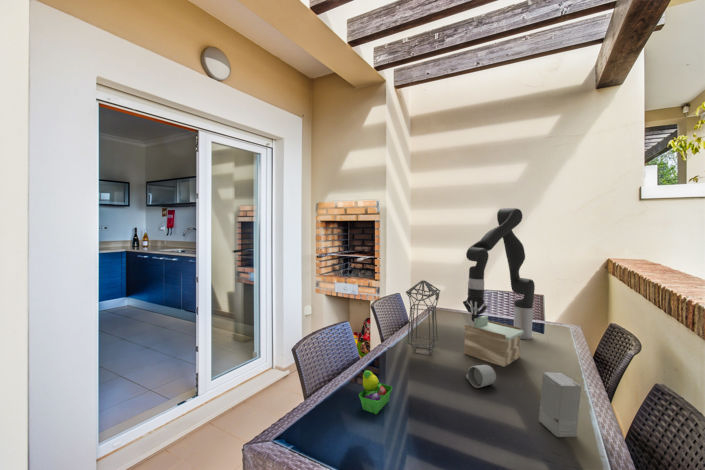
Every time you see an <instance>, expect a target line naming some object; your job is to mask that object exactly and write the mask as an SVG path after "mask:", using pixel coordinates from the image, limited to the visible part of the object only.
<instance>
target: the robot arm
mask: <svg viewBox="0 0 705 470" xmlns="http://www.w3.org/2000/svg"><path fill="white" fill-rule="evenodd" d="M496 214H497V215H496V219H497V224H498V226H496V227H493V228H492V229H490V230H489V231H488V232H486V233H485V234H484V235H483V237H481V239H480V240H478V241H477V242H475V243H473V244H471V246H470V247H469V248H467V250H466V253H465V254H466V255H465V256H466V258H467V260H468V261H470V262H476V264H475V265H472V266H470V267H469V269H468V270H469V271H468V281H467V298H466V299H465V300H463V301H462V304H463V306H464V307H465V309H466V310H467V312H468V313H470V314H471V322H473V323H474V319H475V318H478V317H479V315H483V313H484V312H485V311H487V309H488V308H489V305H487V304H486V303H485V300H484V297H485V270H486V267H487V263H488V261H489V252H490V251H491V250H492V249H493V248H494V247H495V246H497V244H498V242H500V240H501V239H503V244H504V250H505V255H506V259H507V264H508V268H509V279H510V280H509V281H510V287H511V290H512V292H513V293H514V294H517V295H522V296H523V298H521V299H515V300H514V302H513V326H515V327H519V328H521V330H522V331H524V333H523V334H521V335H520V340H531V339H533V311H534V310H533V306H534V301H535V300H534V298H535V287H536V286H535V282H534V280H533V279H531V278H526V277H525V278H523V277H520V269H521V267H522V266H523V264H524V262H525V259H526V253H525V247H524V244H523V243H522V242H521V240H520V239H519V238H518V237H517V236H516V235H515V233H514V232H513V230H514V229H515V228H516V227H517V226H518V225H520V223H521V222H522V220H523V213H522V210H521V209H520V208H515V207H514V208H512V207H511V208H509V207H508V208H500V209H499V210H498V211H497V213H496Z"/></svg>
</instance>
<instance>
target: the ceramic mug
mask: <svg viewBox="0 0 705 470" xmlns="http://www.w3.org/2000/svg"><path fill="white" fill-rule="evenodd" d="M496 374H497V373H496V371H495V370H494V368H493V367H492V366H490V365H488V364H480V365H472V366H470V367H469V368H468V370H467V374H465V376H466V380H468V382H470V384H471V386H472V387H474V388H477V389H480V388H483V387H486V386H490V385H492V384H494V383H495V382H496V378H497V375H496Z"/></svg>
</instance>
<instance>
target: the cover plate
mask: <svg viewBox="0 0 705 470" xmlns="http://www.w3.org/2000/svg"><path fill="white" fill-rule="evenodd" d="M488 320H489V316H488V315H482V316H478V318H475V319H474V322H473V327H476V328H480V329H484V330H488V331H491V332H495V333H499V334H503V335H506V338H505V340H509V341H510V340H512V339H514V338H516V337H518V336H519V335H521V334H523V333H524V331H522V330H518V329H514V328H510V327H506V326H502V325H497V324H493V323H489V322H488Z"/></svg>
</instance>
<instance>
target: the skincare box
mask: <svg viewBox="0 0 705 470" xmlns="http://www.w3.org/2000/svg"><path fill="white" fill-rule="evenodd" d="M581 394H582V385H581V384H579V383H577V382H575V381H574V380H573V378H571V377H568V376H567V375H565V374H564V373H563V372H551V371H550V372H549V371H548V372H547V371H545V372H543V373H542V383H541V393H540V402H539V411H538V412H539V413H538V421H539V422H540V423H541V424H542V425H543V426H544V427H545V428H546V429H547V430H549V431H550V432H551V433H552V434H553V435H554V436H555V437H556V438H576V437H577V436H578V435H577V434H578V425H579V413H580V405H581V404H580V402H581Z"/></svg>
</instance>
